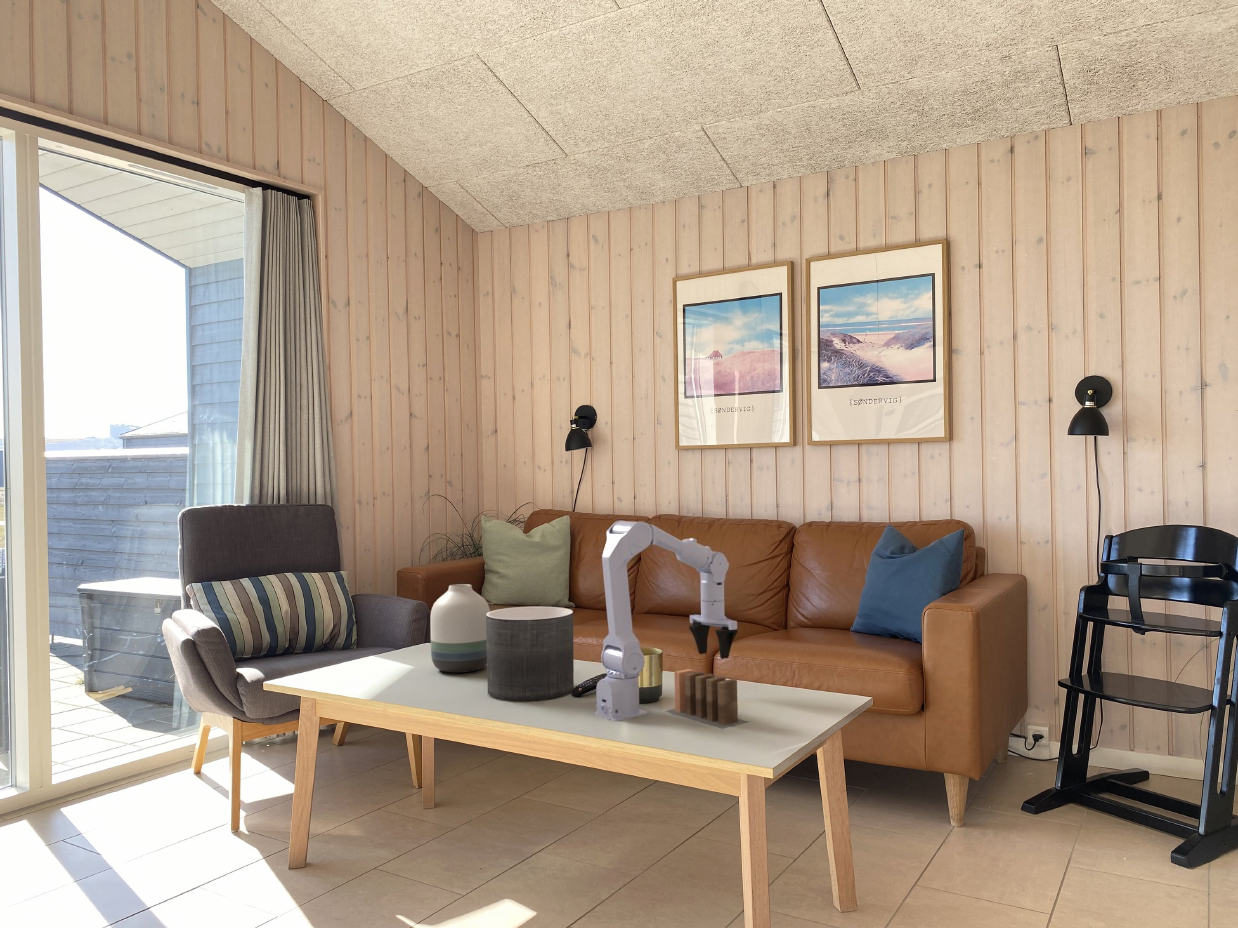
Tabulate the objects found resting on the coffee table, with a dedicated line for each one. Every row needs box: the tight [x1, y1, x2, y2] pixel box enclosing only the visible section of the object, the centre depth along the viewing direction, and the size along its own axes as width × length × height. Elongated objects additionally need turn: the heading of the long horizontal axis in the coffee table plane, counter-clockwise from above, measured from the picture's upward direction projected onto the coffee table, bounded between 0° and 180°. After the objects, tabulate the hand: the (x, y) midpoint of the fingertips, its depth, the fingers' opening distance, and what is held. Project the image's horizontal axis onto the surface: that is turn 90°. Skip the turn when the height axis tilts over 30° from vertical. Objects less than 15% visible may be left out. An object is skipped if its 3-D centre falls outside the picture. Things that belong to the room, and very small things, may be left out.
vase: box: [430, 583, 491, 673], centre depth 253 cm, size 17×17×24 cm
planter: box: [486, 606, 575, 703], centre depth 226 cm, size 22×22×20 cm
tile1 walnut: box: [717, 678, 739, 725], centre depth 192 cm, size 4×2×9 cm, turn 128°
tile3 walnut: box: [695, 673, 715, 719], centre depth 198 cm, size 4×2×9 cm, turn 128°
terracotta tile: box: [673, 668, 694, 712], centre depth 203 cm, size 4×2×9 cm, turn 128°
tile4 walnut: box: [685, 670, 705, 716], centre depth 201 cm, size 4×2×9 cm, turn 128°
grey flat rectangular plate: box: [664, 708, 750, 730], centre depth 198 cm, size 8×19×1 cm, turn 38°
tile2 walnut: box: [706, 676, 727, 722], centre depth 195 cm, size 4×2×9 cm, turn 128°
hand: (713, 655), depth 217 cm, fingers open, 7 cm apart
